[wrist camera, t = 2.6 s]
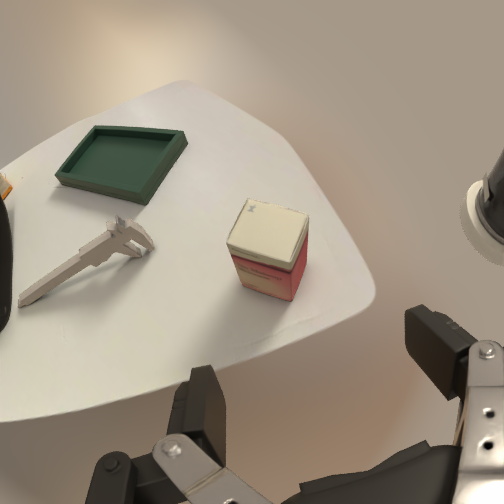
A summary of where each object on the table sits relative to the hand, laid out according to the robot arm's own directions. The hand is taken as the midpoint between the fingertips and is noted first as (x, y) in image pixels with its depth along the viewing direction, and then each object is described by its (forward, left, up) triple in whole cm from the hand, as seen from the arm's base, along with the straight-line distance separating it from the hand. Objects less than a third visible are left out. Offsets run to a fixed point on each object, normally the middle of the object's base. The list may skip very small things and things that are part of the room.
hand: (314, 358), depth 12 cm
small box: (-2, -10, -14) cm, 18 cm away
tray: (+10, -35, -14) cm, 39 cm away
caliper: (+18, -19, -14) cm, 30 cm away
